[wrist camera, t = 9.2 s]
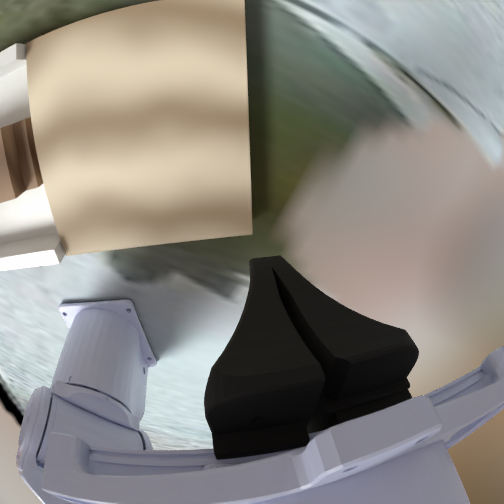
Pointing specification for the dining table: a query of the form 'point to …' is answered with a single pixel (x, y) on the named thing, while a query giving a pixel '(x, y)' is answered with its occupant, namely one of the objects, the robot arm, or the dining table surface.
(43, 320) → the dining table surface
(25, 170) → the tile
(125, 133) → the board
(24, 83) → the tray
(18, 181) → the tile
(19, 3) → the dining table surface
